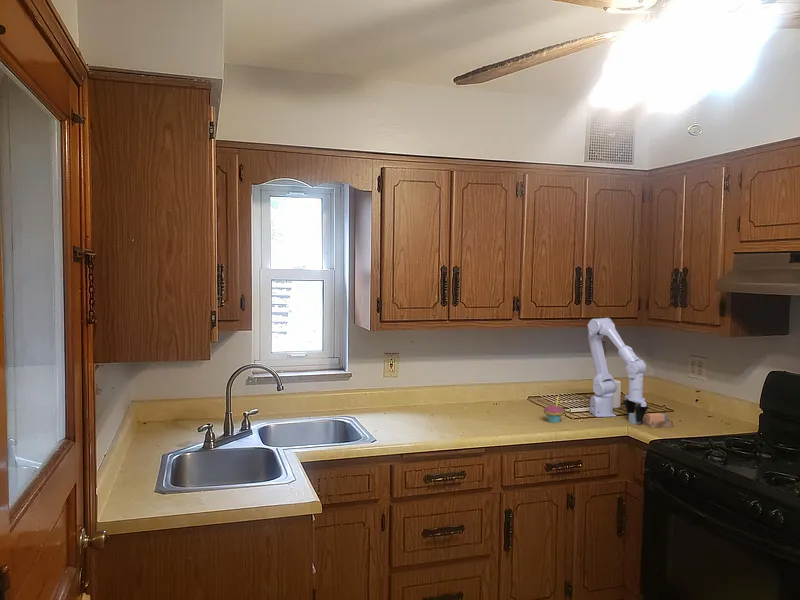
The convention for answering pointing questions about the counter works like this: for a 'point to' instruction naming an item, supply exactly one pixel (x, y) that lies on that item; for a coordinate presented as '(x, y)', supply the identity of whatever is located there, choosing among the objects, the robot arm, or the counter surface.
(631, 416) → the pale blue-grey cube
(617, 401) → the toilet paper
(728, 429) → the counter surface
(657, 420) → the two-tone peach block
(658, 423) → the jig
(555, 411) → the cupcake
